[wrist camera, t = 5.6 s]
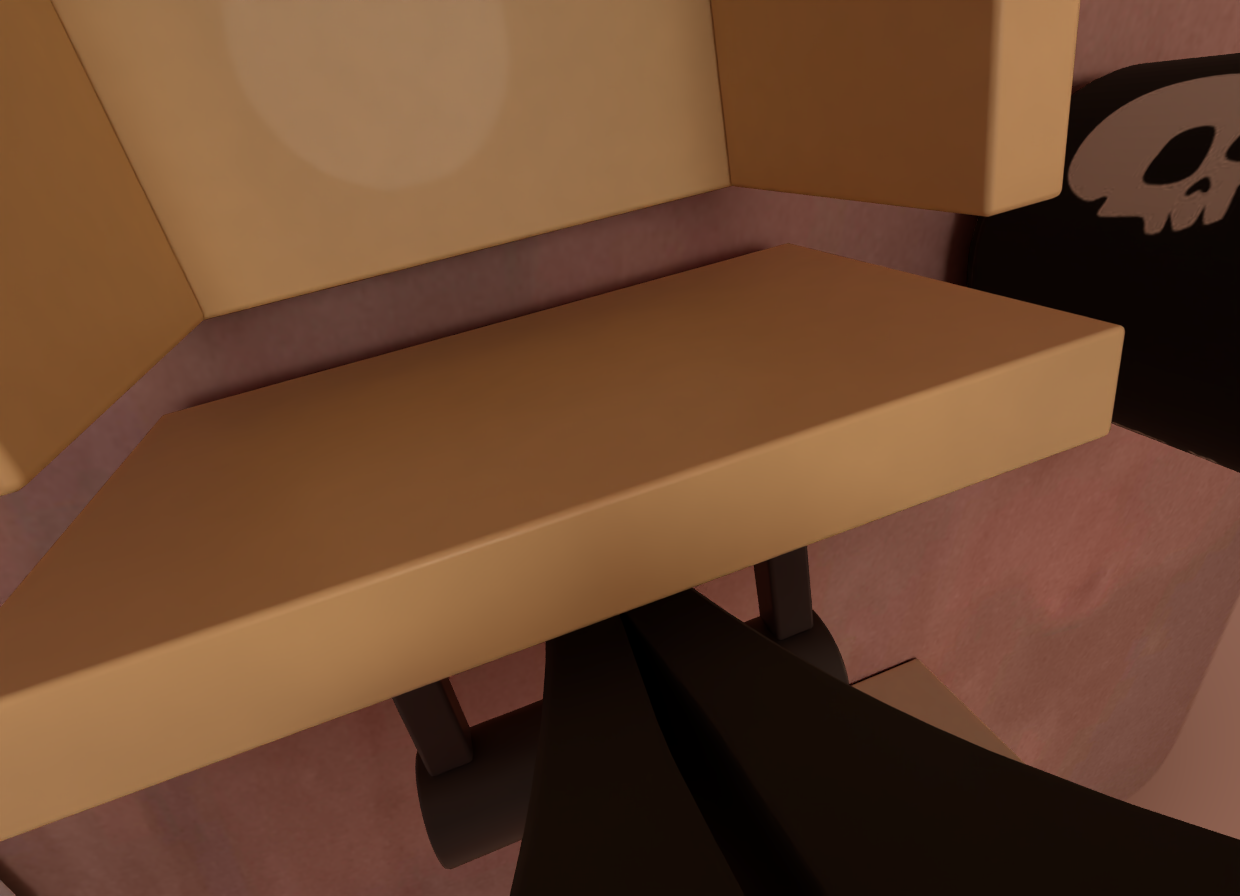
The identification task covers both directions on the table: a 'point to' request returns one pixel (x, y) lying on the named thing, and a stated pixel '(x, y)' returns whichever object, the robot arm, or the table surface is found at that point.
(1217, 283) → the beverage can
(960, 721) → the pedestal
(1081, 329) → the drawer
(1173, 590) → the table surface
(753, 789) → the robot arm
